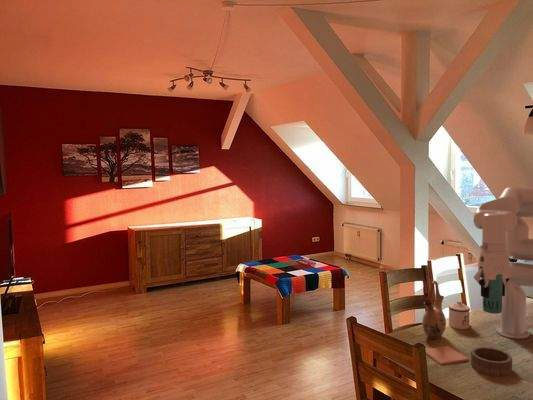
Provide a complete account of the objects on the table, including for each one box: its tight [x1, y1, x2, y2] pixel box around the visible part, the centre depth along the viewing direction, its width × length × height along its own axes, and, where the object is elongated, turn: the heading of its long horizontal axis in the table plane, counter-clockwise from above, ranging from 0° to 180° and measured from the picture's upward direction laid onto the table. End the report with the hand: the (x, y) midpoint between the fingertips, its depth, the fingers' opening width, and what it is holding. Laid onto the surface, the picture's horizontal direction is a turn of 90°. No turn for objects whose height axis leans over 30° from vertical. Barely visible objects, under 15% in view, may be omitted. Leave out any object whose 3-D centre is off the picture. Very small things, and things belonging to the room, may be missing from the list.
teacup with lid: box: [448, 300, 471, 330], centre depth 200 cm, size 12×9×12 cm
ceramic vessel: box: [421, 280, 447, 340], centre depth 186 cm, size 16×9×25 cm, turn 138°
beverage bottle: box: [481, 274, 503, 315], centre depth 156 cm, size 6×7×20 cm
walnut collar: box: [470, 346, 513, 378], centre depth 158 cm, size 13×13×5 cm
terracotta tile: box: [425, 345, 469, 366], centre depth 169 cm, size 12×12×1 cm
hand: (492, 295), depth 156 cm, fingers closed on beverage bottle, 6 cm apart
